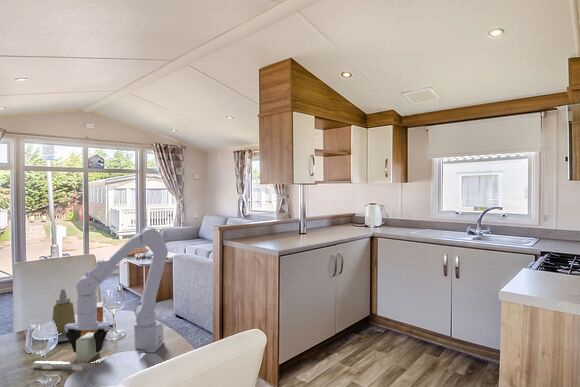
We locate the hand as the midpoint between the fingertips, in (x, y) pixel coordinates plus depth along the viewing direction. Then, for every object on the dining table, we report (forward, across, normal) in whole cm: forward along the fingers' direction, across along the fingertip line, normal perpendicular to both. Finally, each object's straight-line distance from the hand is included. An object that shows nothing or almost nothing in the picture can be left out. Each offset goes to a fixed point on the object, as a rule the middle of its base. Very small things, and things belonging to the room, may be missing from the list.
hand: (87, 351), depth 113 cm
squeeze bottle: (+3, +24, -22) cm, 32 cm away
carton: (+2, 0, 0) cm, 2 cm away
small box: (+3, +9, -17) cm, 19 cm away
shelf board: (+3, +3, +1) cm, 4 cm away
